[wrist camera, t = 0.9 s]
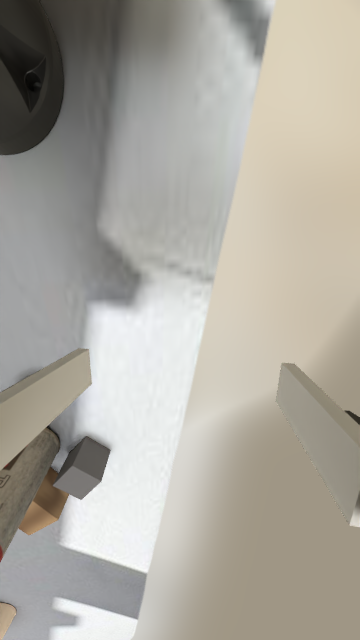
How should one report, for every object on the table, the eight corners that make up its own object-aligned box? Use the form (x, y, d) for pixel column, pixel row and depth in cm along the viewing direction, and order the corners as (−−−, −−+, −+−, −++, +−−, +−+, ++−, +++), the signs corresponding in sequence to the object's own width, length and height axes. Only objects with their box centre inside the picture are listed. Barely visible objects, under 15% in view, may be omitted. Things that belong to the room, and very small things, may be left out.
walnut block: (23, 480, 34) (0, 515, 29) (49, 465, 33) (30, 499, 29) (47, 498, 36) (29, 535, 31) (73, 484, 35) (58, 519, 30)
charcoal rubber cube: (69, 453, 33) (52, 485, 28) (86, 435, 32) (72, 465, 27) (93, 466, 34) (81, 499, 29) (110, 449, 33) (101, 481, 28)
